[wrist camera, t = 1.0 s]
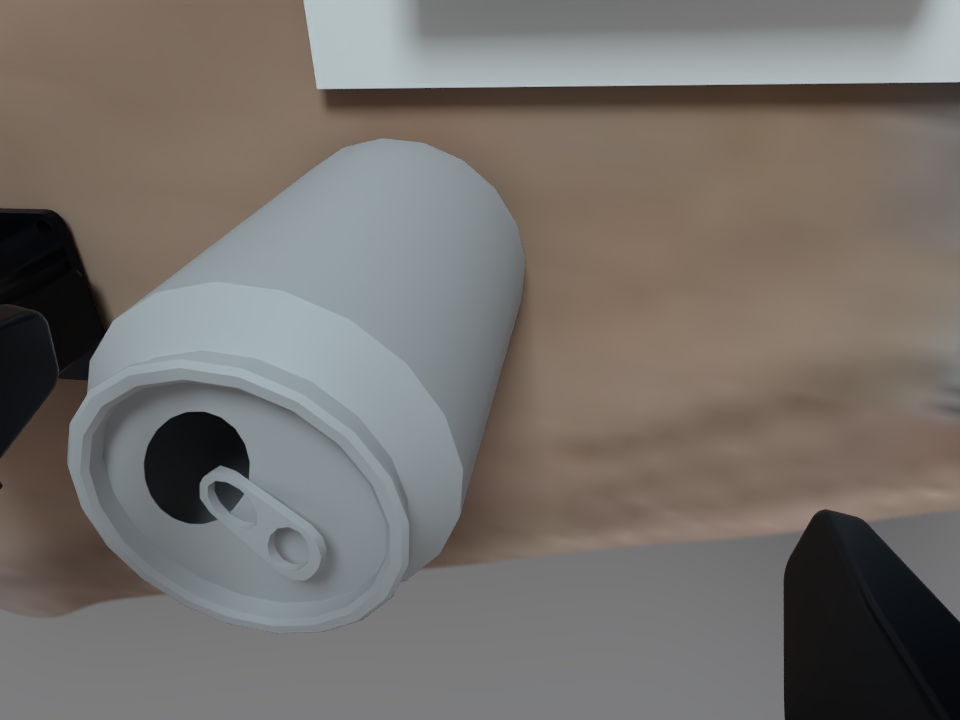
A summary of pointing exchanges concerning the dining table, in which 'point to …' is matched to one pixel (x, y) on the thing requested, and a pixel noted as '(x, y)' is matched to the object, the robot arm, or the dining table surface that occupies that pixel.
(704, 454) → the dining table surface
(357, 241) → the can
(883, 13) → the collar plate
